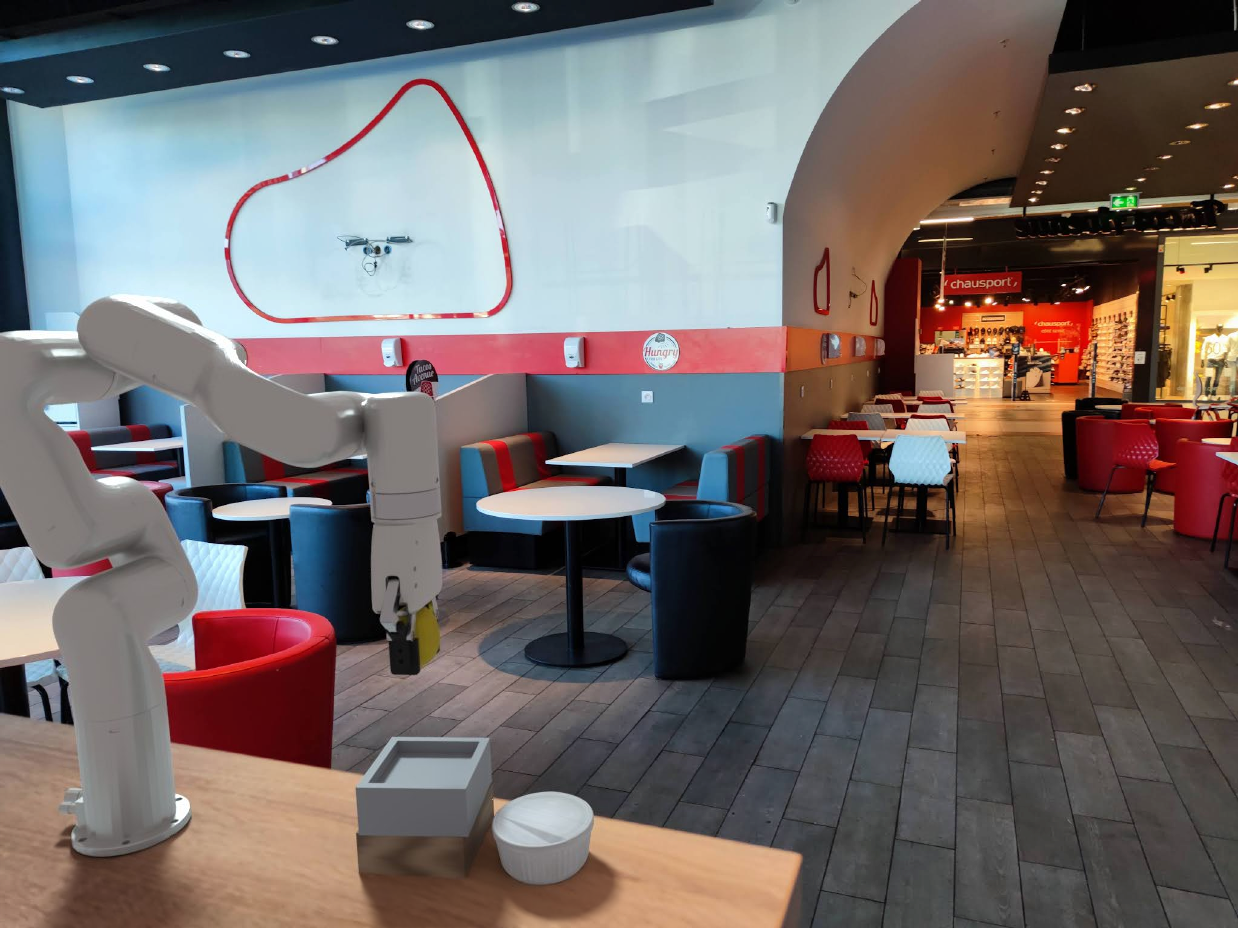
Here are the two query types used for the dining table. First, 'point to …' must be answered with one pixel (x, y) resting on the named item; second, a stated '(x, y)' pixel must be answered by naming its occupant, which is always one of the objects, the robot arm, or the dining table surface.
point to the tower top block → (425, 787)
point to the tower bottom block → (425, 850)
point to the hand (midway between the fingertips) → (416, 661)
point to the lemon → (425, 634)
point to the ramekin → (543, 836)
